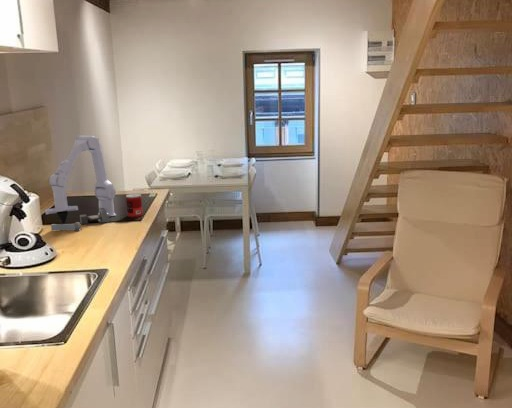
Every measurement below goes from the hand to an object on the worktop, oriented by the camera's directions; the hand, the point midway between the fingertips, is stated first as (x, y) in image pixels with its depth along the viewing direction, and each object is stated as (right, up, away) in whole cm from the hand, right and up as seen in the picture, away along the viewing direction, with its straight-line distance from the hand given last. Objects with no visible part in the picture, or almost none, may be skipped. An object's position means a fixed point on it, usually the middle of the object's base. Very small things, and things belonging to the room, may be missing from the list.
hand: (63, 226), depth 251 cm
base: (+7, -2, -2) cm, 8 cm away
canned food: (+29, +5, +22) cm, 37 cm away
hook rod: (+12, +2, +11) cm, 16 cm away
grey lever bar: (+2, -1, -2) cm, 3 cm away
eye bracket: (+15, +2, +13) cm, 20 cm away
